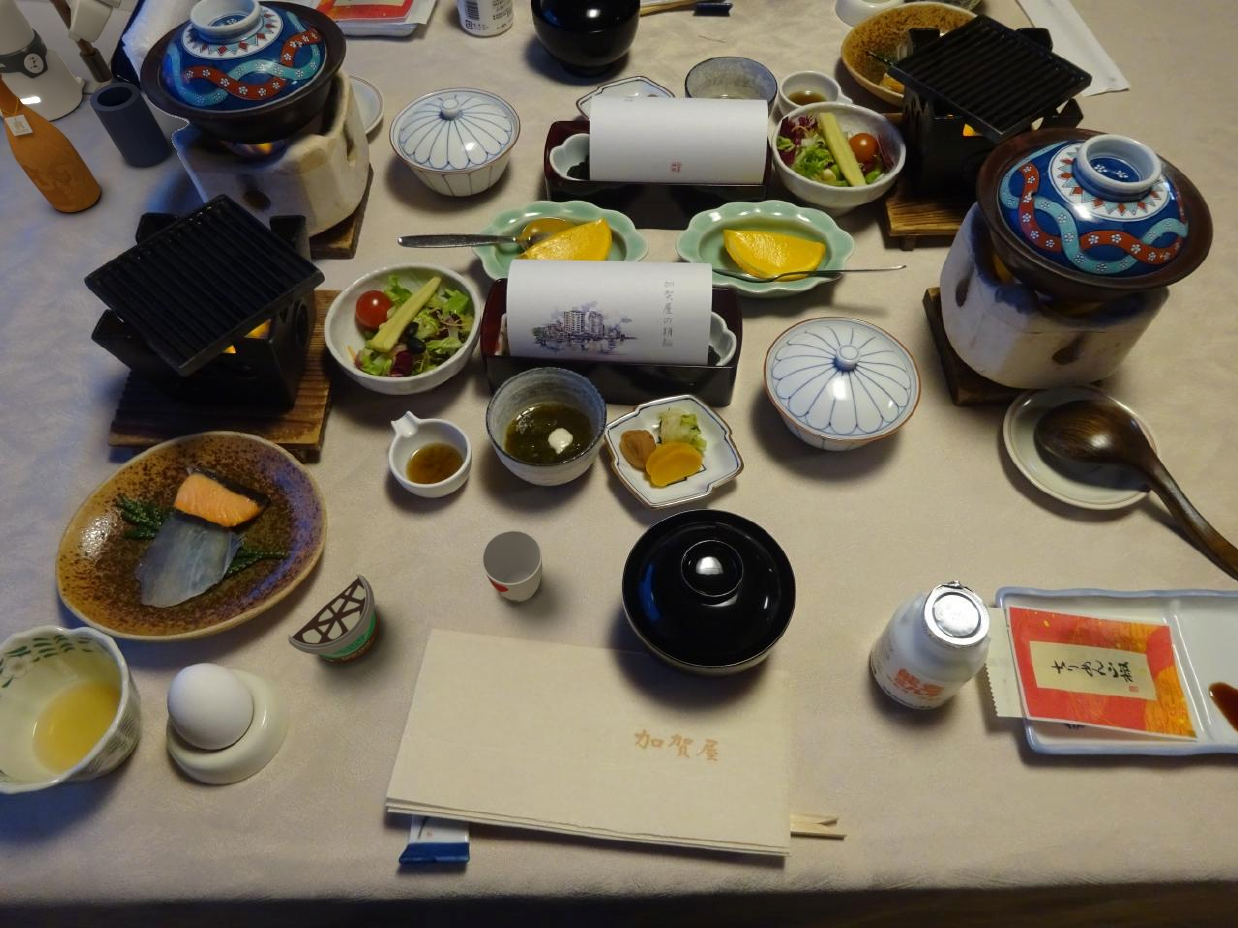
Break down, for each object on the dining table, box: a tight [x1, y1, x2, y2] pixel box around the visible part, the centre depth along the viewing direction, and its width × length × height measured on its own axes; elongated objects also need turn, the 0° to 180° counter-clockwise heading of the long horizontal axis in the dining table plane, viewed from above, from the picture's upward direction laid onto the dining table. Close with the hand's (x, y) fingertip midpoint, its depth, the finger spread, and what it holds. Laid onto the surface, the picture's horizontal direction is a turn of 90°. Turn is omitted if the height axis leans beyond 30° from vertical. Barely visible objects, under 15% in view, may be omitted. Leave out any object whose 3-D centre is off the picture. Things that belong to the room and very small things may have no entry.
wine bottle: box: [0, 73, 101, 213], centre depth 145 cm, size 10×10×30 cm
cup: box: [481, 529, 543, 603], centre depth 111 cm, size 8×8×10 cm
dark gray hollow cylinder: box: [89, 82, 172, 169], centre depth 160 cm, size 9×9×13 cm
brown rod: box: [48, 0, 114, 84], centre depth 144 cm, size 3×3×16 cm
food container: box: [287, 573, 380, 664], centre depth 106 cm, size 12×6×10 cm, turn 139°
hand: (72, 32), depth 143 cm, fingers closed on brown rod, 2 cm apart
